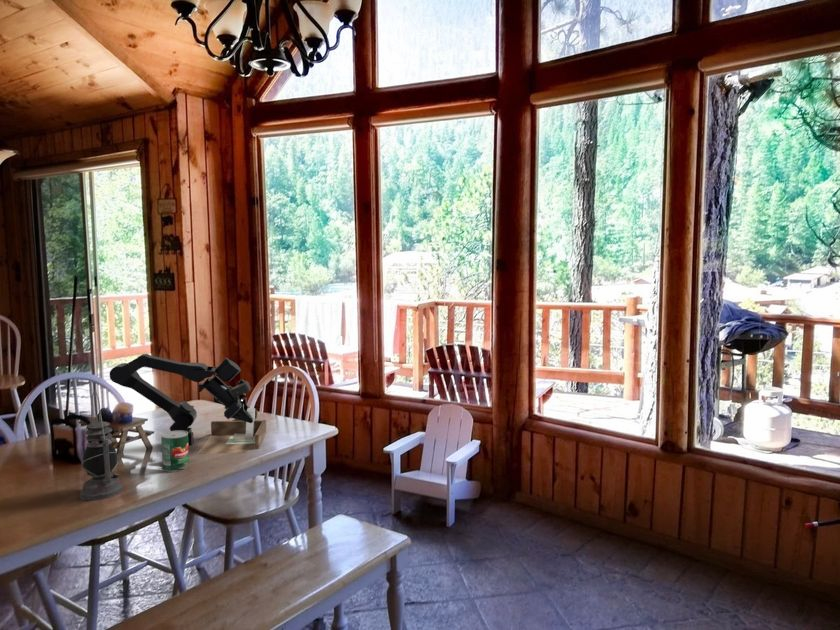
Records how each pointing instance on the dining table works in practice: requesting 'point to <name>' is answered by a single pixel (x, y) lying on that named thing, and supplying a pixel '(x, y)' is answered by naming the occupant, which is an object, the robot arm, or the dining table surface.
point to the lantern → (100, 462)
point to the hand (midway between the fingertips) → (253, 419)
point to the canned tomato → (174, 450)
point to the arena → (226, 430)
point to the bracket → (247, 429)
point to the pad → (239, 441)
